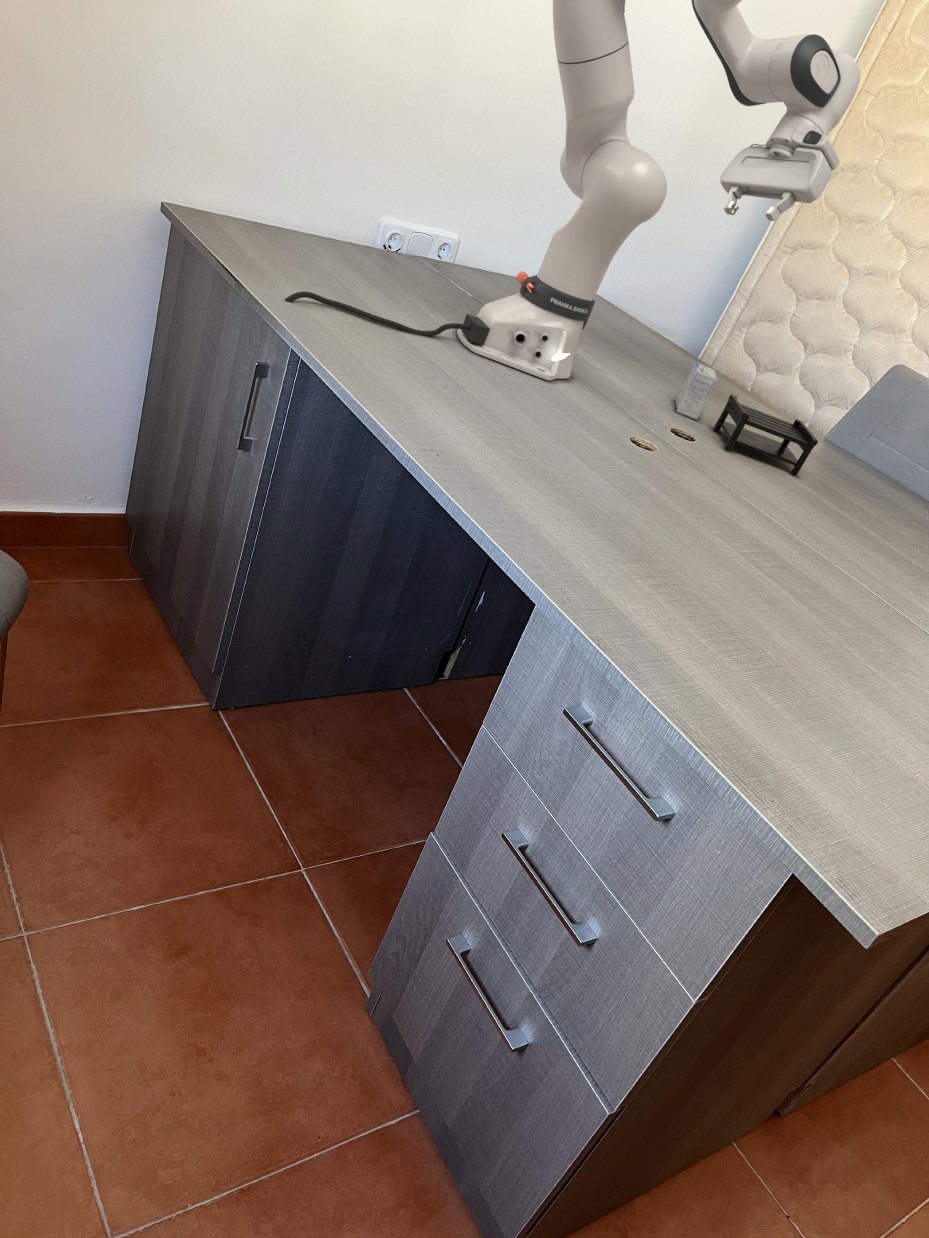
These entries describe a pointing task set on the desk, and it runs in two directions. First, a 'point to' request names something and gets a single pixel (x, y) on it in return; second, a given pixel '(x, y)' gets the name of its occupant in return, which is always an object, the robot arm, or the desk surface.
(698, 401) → the medicine box
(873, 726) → the desk surface
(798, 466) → the rack
